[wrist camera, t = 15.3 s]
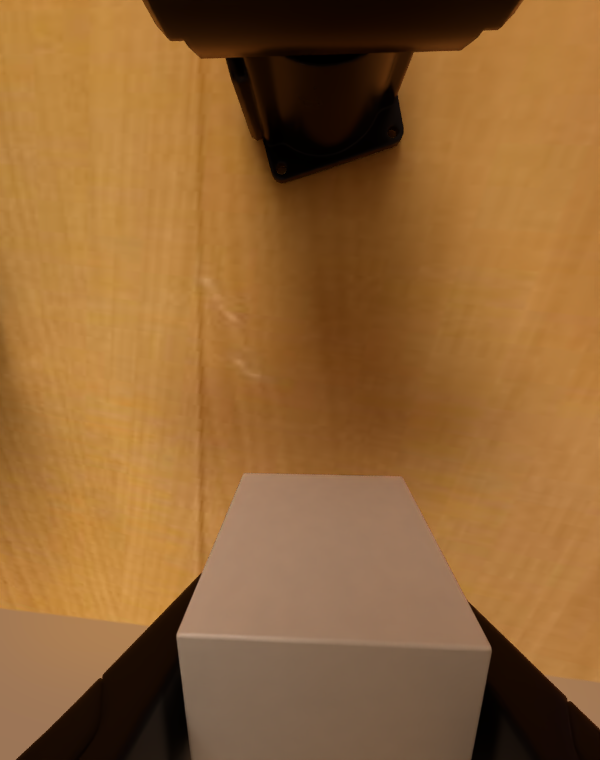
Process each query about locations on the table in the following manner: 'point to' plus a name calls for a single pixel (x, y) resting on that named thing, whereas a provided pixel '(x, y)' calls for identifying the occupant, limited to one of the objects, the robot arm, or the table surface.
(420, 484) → the table surface
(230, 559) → the block
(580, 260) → the table surface
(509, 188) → the table surface
